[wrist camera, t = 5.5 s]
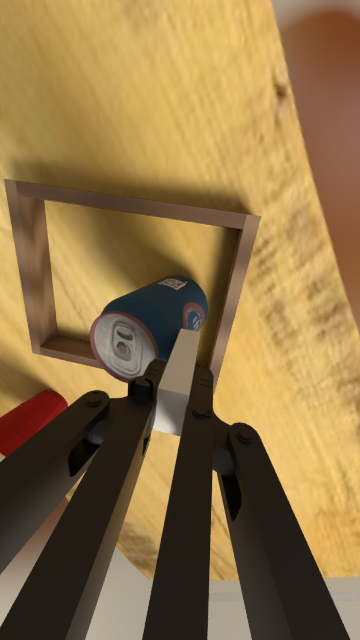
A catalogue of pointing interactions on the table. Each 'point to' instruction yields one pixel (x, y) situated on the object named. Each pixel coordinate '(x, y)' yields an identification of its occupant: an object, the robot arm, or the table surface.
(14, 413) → the plastic cup
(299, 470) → the table surface
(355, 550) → the table surface
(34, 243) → the walnut tray frame
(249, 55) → the table surface
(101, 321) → the soda can
